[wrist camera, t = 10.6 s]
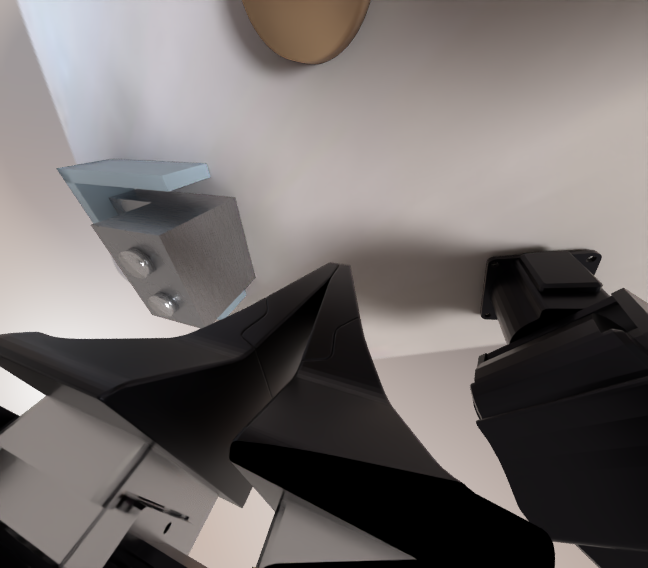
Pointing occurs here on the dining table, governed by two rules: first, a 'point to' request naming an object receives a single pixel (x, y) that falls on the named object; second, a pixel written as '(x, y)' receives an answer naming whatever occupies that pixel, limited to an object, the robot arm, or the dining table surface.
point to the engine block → (179, 252)
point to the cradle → (130, 186)
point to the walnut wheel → (307, 26)
